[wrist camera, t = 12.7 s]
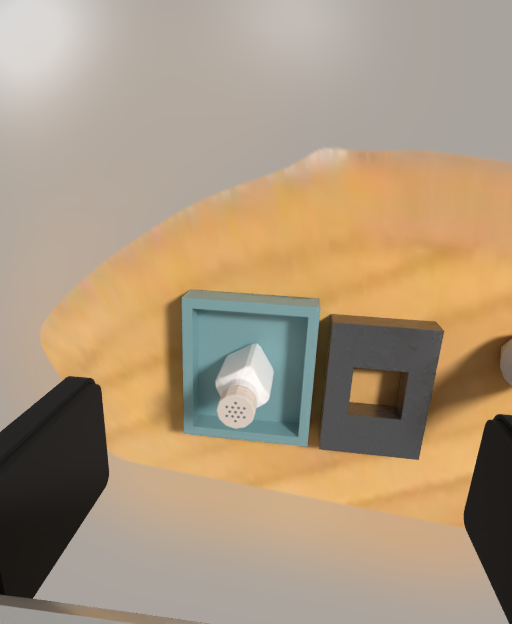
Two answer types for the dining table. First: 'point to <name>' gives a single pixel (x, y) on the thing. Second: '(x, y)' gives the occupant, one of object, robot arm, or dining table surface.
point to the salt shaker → (506, 361)
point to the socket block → (382, 356)
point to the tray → (236, 335)
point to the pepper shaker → (243, 385)
